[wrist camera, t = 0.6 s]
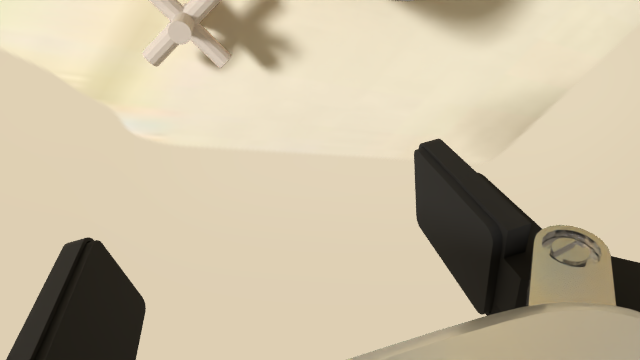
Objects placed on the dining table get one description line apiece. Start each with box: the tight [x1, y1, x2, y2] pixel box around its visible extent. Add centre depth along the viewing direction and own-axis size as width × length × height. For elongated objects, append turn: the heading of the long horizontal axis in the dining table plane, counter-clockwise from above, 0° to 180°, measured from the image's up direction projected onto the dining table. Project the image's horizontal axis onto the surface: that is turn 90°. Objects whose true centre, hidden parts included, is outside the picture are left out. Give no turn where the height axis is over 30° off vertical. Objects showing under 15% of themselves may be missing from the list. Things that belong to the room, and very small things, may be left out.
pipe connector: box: [142, 0, 231, 68], centre depth 35 cm, size 10×10×10 cm
